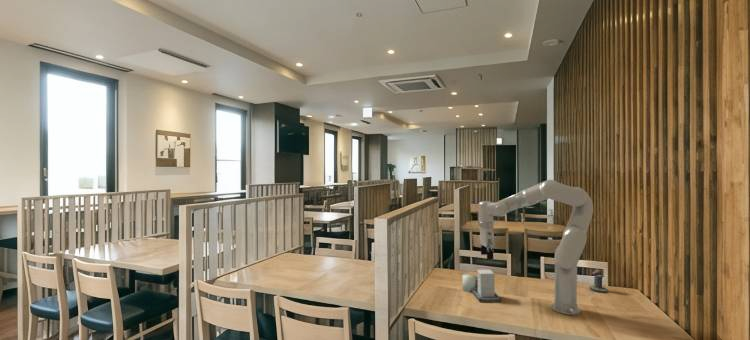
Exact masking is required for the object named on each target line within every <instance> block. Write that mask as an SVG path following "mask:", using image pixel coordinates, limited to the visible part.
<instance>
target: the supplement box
mask: <svg viewBox="0 0 750 340" xmlns="http://www.w3.org/2000/svg"><path fill="white" fill-rule="evenodd" d="M477 277H478V293H479V295H480V296H481V297H495V293H496V292H495V273H494V272H493V271H492V269H477ZM494 292H495V293H494Z"/></svg>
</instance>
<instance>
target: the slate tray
mask: <svg viewBox="0 0 750 340" xmlns="http://www.w3.org/2000/svg"><path fill="white" fill-rule="evenodd" d="M494 293H495V297H481V296H480V295H479V293H478V289H472V292H471V294H472V295H473V296H474V297H475V298H476V300H477V302H479V303H501V302H502V299H501V297H500V296H499V295H498V294H497V293H496V292H495V291H494Z"/></svg>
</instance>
